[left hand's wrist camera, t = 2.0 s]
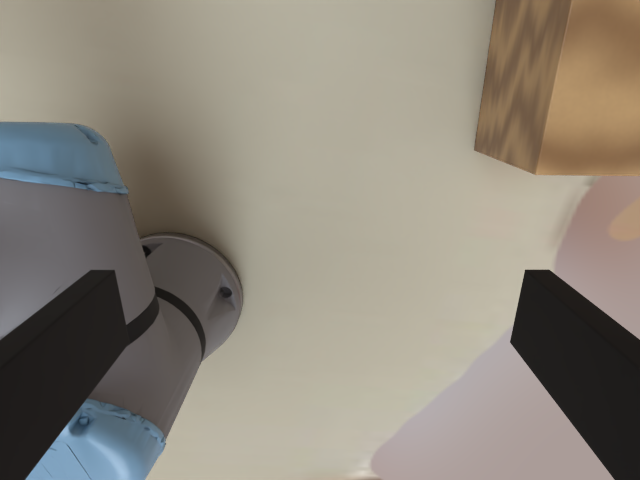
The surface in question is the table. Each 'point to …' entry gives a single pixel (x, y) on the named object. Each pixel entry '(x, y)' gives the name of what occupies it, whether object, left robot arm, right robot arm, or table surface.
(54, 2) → the table surface
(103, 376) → the left robot arm
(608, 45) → the box
